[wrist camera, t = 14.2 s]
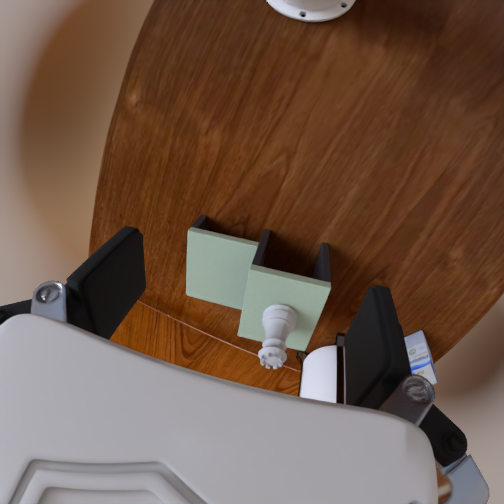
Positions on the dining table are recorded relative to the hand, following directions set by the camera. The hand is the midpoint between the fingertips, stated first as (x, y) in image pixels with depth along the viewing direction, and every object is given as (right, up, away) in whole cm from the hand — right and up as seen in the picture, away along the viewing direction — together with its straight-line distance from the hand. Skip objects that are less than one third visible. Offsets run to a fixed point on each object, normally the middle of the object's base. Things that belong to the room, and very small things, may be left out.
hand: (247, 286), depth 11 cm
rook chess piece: (+4, -7, +26) cm, 27 cm away
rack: (+1, 0, +36) cm, 36 cm away
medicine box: (+33, -17, +39) cm, 54 cm away
